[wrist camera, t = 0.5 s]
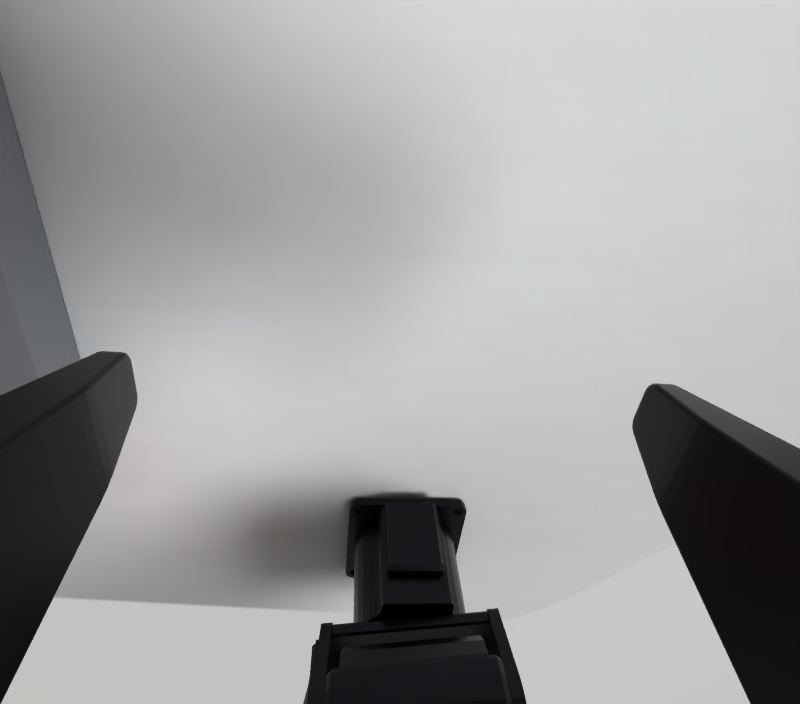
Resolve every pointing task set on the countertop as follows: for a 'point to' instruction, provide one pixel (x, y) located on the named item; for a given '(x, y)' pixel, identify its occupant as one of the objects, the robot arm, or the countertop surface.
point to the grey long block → (26, 275)
